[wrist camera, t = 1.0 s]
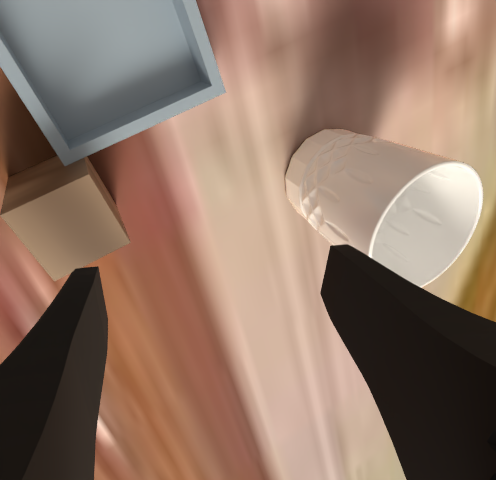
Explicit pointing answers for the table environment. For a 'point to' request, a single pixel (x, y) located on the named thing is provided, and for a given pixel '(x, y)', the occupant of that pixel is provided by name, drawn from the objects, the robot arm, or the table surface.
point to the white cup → (386, 200)
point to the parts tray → (105, 67)
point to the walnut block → (63, 215)
